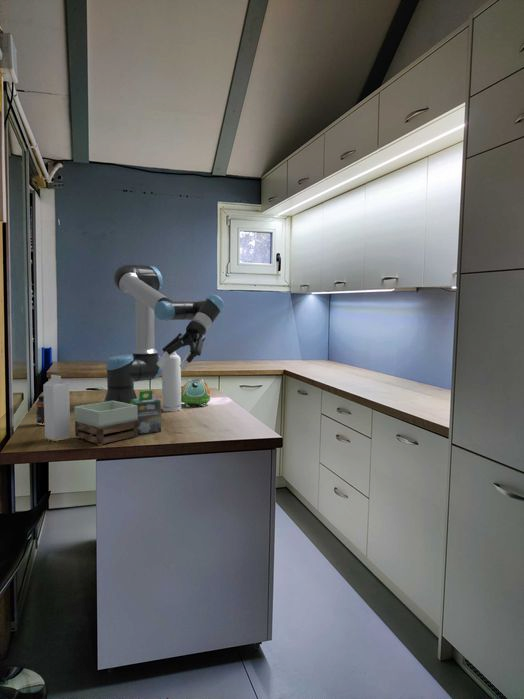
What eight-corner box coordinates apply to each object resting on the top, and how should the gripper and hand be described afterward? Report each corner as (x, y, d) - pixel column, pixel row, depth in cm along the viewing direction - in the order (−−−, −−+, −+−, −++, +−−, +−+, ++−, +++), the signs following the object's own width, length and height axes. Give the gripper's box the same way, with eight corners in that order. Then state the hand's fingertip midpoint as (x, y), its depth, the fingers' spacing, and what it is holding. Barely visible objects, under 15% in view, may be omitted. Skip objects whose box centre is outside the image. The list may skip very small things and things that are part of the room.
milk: (60, 436, 176) (59, 373, 175) (70, 438, 173) (69, 374, 171) (44, 439, 171) (42, 375, 170) (54, 442, 168) (52, 376, 166)
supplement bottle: (57, 423, 196) (56, 394, 195) (46, 426, 191) (44, 397, 190) (44, 422, 198) (43, 393, 197) (33, 425, 193) (32, 396, 192)
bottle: (162, 408, 226) (161, 346, 224) (180, 407, 227) (179, 345, 225) (162, 411, 218) (161, 347, 216) (181, 411, 219) (180, 347, 217)
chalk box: (155, 426, 190) (154, 387, 189) (162, 431, 182) (161, 391, 181) (130, 429, 186) (129, 389, 185) (136, 434, 178) (135, 393, 177)
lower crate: (75, 438, 173) (74, 420, 173) (113, 430, 185) (113, 414, 184) (99, 445, 164) (99, 427, 163) (138, 436, 175) (137, 419, 174)
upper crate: (74, 420, 173) (74, 406, 172) (113, 414, 184) (112, 400, 184) (99, 427, 163) (98, 412, 163) (137, 419, 174) (137, 405, 174)
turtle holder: (172, 403, 239) (171, 378, 238) (210, 402, 240) (210, 377, 239) (169, 408, 226) (169, 381, 225) (210, 407, 228) (210, 381, 227)
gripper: (225, 333, 195) (197, 375, 185) (183, 332, 211) (155, 371, 201) (215, 319, 191) (186, 362, 180) (172, 320, 207) (144, 359, 197)
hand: (170, 367), depth 191 cm, fingers open, 13 cm apart
